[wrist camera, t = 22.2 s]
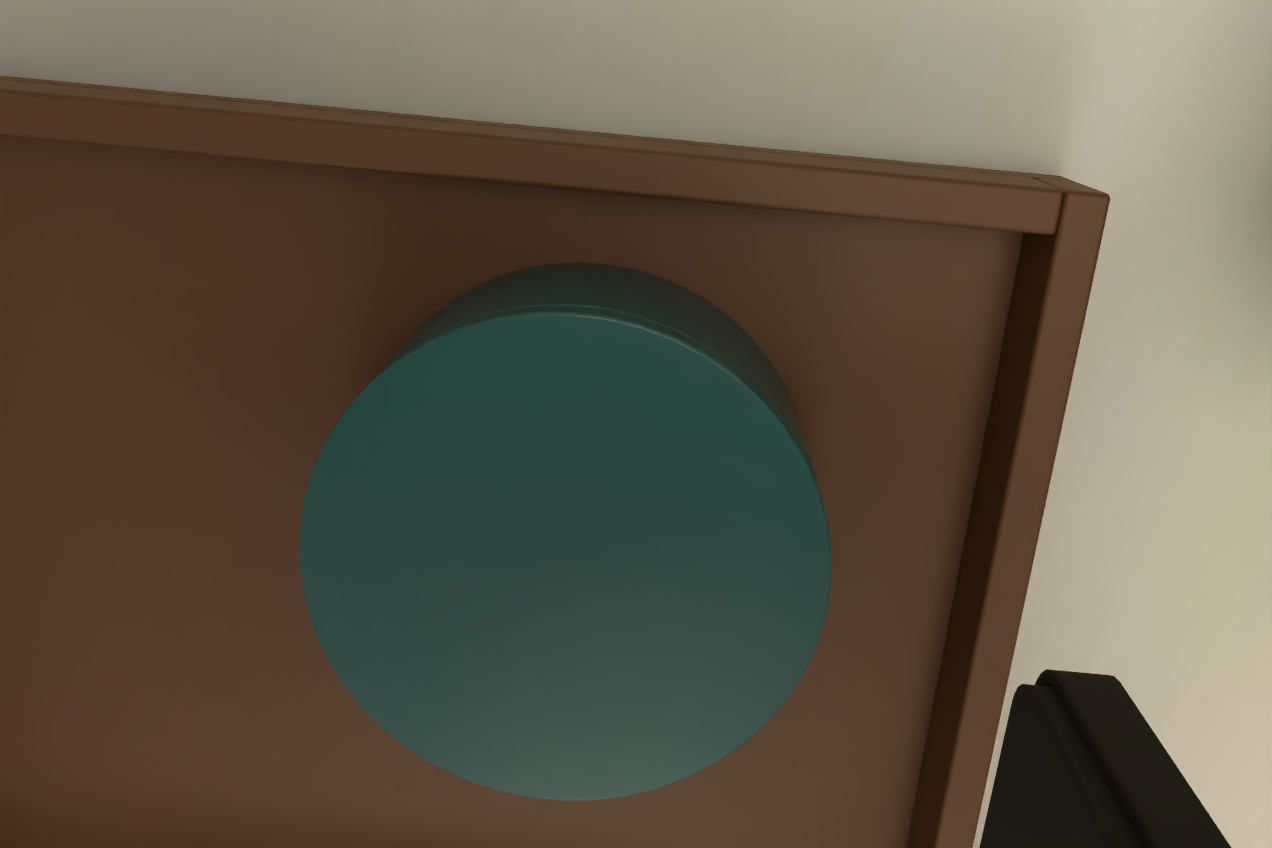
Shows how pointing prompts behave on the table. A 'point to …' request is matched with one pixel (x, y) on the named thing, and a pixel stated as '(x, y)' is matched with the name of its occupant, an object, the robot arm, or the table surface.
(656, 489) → the jar lid
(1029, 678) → the table surface
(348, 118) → the tray
